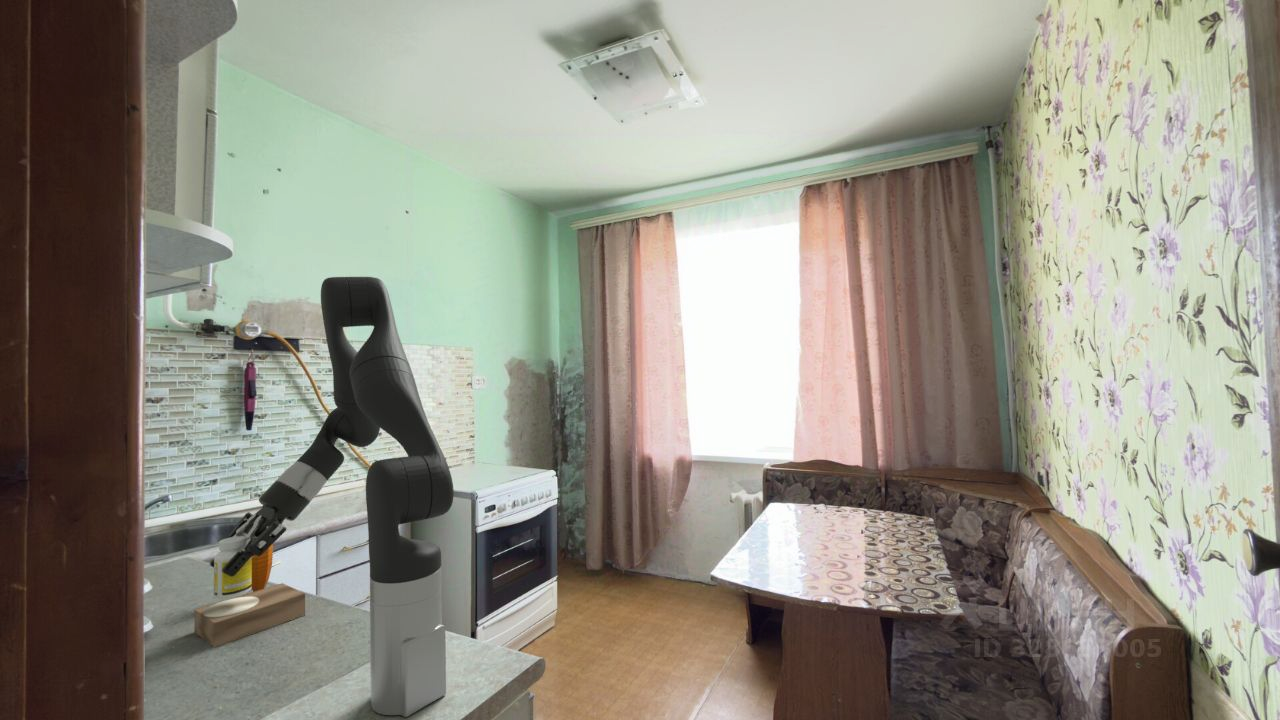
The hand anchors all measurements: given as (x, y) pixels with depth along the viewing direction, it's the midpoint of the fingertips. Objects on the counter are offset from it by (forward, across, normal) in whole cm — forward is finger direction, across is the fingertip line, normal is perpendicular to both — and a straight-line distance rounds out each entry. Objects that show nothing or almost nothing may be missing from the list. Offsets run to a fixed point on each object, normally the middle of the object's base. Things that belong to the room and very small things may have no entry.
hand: (220, 570), depth 93 cm
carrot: (+1, -14, +16) cm, 21 cm away
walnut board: (+5, 0, +11) cm, 12 cm away
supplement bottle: (+2, 0, +5) cm, 5 cm away
